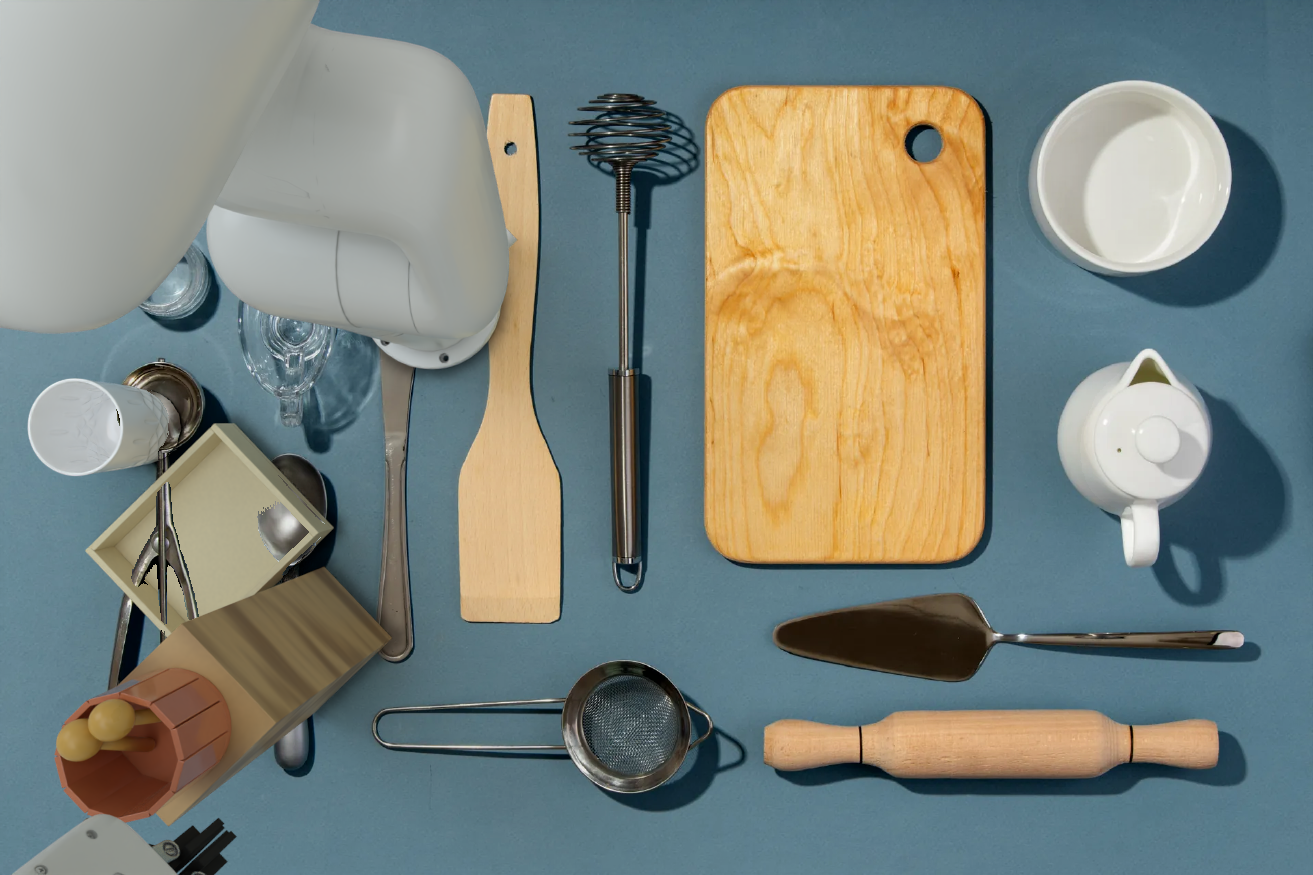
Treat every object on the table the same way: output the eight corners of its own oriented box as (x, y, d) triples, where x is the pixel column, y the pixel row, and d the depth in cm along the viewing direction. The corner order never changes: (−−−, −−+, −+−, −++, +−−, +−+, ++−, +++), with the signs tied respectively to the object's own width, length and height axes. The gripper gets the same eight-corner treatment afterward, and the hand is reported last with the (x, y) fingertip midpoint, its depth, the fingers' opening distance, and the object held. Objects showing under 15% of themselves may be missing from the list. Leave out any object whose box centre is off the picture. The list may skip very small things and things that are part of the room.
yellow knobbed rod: (191, 684, 60) (101, 691, 53) (210, 714, 60) (120, 725, 53) (165, 708, 60) (70, 719, 53) (182, 738, 60) (89, 753, 53)
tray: (234, 423, 85) (214, 423, 81) (334, 527, 85) (318, 532, 81) (109, 545, 85) (84, 550, 82) (208, 649, 85) (187, 659, 82)
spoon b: (157, 718, 61) (72, 708, 54) (175, 745, 60) (91, 739, 53) (128, 744, 60) (39, 738, 54) (146, 773, 60) (57, 770, 53)
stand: (324, 566, 85) (181, 623, 61) (392, 638, 85) (276, 723, 61) (246, 641, 85) (74, 727, 61) (314, 713, 85) (168, 827, 61)
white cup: (192, 387, 85) (127, 383, 75) (185, 473, 85) (118, 480, 75) (108, 379, 85) (31, 373, 75) (100, 465, 85) (23, 470, 75)
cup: (175, 643, 61) (119, 667, 55) (255, 728, 61) (208, 761, 55) (94, 722, 61) (29, 755, 55) (173, 807, 61) (117, 849, 55)
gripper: (171, 1125, 37) (342, 891, 55) (-88, 852, 37) (168, 709, 55) (40, 1250, 37) (253, 976, 56) (-217, 979, 37) (81, 795, 56)
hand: (210, 843), depth 55 cm, fingers closed
